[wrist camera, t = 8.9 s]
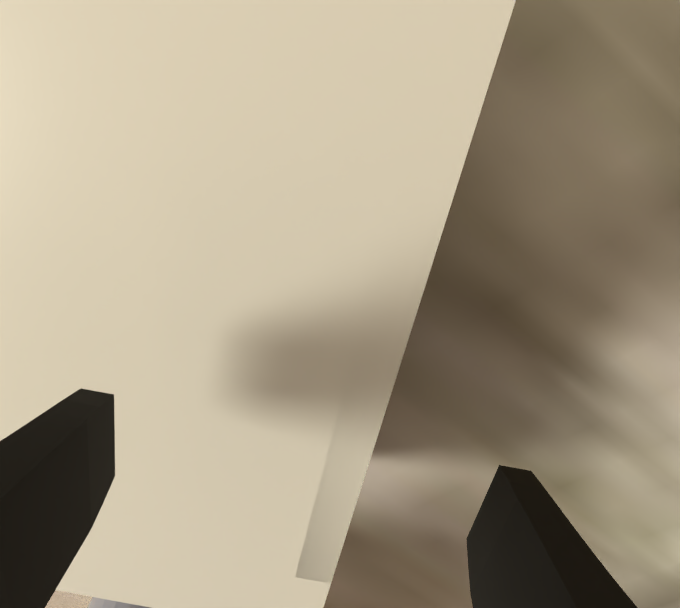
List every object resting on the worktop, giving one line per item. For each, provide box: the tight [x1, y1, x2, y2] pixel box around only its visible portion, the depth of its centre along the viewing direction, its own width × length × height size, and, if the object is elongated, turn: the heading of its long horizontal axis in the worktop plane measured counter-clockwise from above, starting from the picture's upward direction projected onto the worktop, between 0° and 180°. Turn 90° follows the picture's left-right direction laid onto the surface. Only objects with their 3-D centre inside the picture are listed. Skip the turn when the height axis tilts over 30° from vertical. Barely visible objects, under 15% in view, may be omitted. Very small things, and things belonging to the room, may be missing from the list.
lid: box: [0, 0, 516, 608], centre depth 12 cm, size 18×14×2 cm
